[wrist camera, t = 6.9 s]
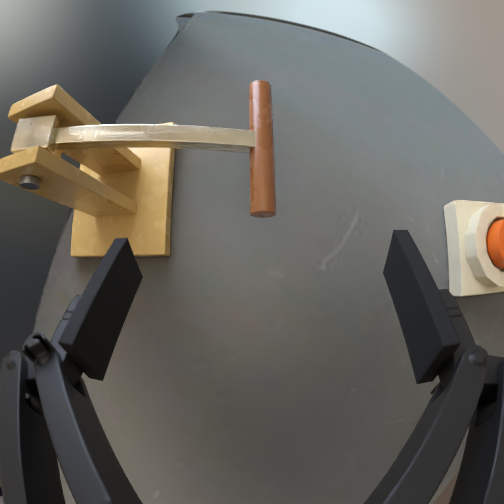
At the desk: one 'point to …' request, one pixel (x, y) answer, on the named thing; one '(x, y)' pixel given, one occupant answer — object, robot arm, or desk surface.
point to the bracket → (97, 182)
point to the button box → (472, 247)
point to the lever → (173, 141)
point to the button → (496, 243)
